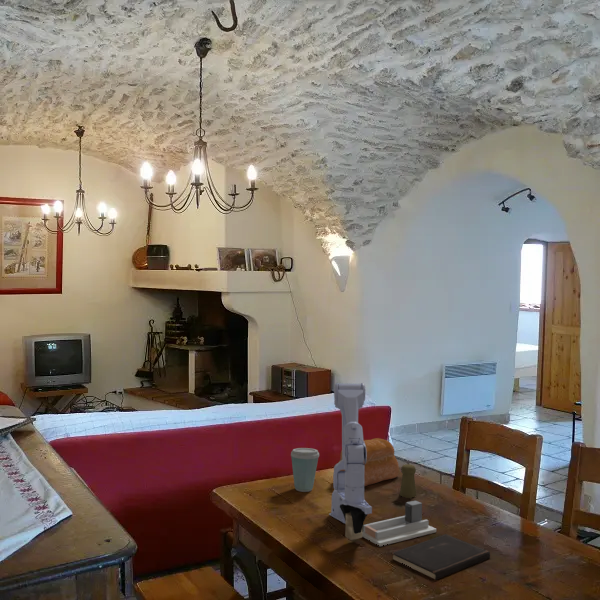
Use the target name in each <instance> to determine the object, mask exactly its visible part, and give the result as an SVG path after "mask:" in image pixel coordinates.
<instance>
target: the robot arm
mask: <svg viewBox="0 0 600 600" xmlns="http://www.w3.org/2000/svg"><path fill="white" fill-rule="evenodd" d="M333 387H334V388H333V400H334V408H336V409H338V410H340V414H341V451H342V460H341V461H340V460H339V461H340V462H339V461H338V463H336V464H334V467H333V473H332V474H333V476H332V480H333V481H332V483H333V485H332V486H333V489H334V490H333V491H332V493H331V510H330V513H328V515H329V516H331V517H333V519H335V520H338V521H340V522H341V523H343V524H345V525H346V513H351V516H352V520H353V530H354V533H355V534H356V533H361V530H362V526H363V525H364V523H365V520H366V518H367V516H368V515H370V514H373V506H371V505H370V504H369V503H368V502H367V501H366V500H365V486H364V468H365V465H364V463H365V464H366V460H367V451H366V446H365V442H364V441H363V440H364V430H363V426H362V425H361V424H360V423H359V409H362V408H363V406H364V403H365V400H366V385H365V384H364V382H359V383H358V382H356V383H352V382H348V383H347V382H342V383H341V382H340V383H339V382H335V384H334V386H333ZM363 462H364V463H363ZM340 470H345V471H340Z"/></svg>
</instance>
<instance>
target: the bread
mask: <svg viewBox="0 0 600 600" xmlns="http://www.w3.org/2000/svg"><path fill="white" fill-rule="evenodd" d="M363 441H364V442H365V446H366V451H367V460H366V464H365V463H364V462H363V463H364V465H365V468H364V487H367V486H369V485H373V484H377V483H380V482H383V481H387V480H391V479H395V478H397V477H398V475H399V474H400V467H399V466H400V465H399V461H398V459H397V458H396V456H395V448H394V446H393V444H392V443H391V442H390V441H388V440H387V439H384V438H381V437H377V438H376V437H375V438H372V439H363ZM339 454H340V459H339V461H338V463H339V462H340V461H341V460H342V450H341V451H340V453H339ZM340 471H345V470H340Z"/></svg>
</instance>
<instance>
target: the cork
mask: <svg viewBox="0 0 600 600" xmlns="http://www.w3.org/2000/svg"><path fill="white" fill-rule="evenodd" d="M416 470H417V469H416V466H415V465H413V464H410V463H409V464H408V463H407V464H403V465H401V467H400V471H401V474H402V475H401V482H400V490H399V496H400V497H401V496H402V497H401V498H404V497H406V499H413V498H412V497H414V498H416V497H417V496H416V495H417V488H416V481H415V480H416V479H415V474H416ZM415 496H416V497H415Z"/></svg>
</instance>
